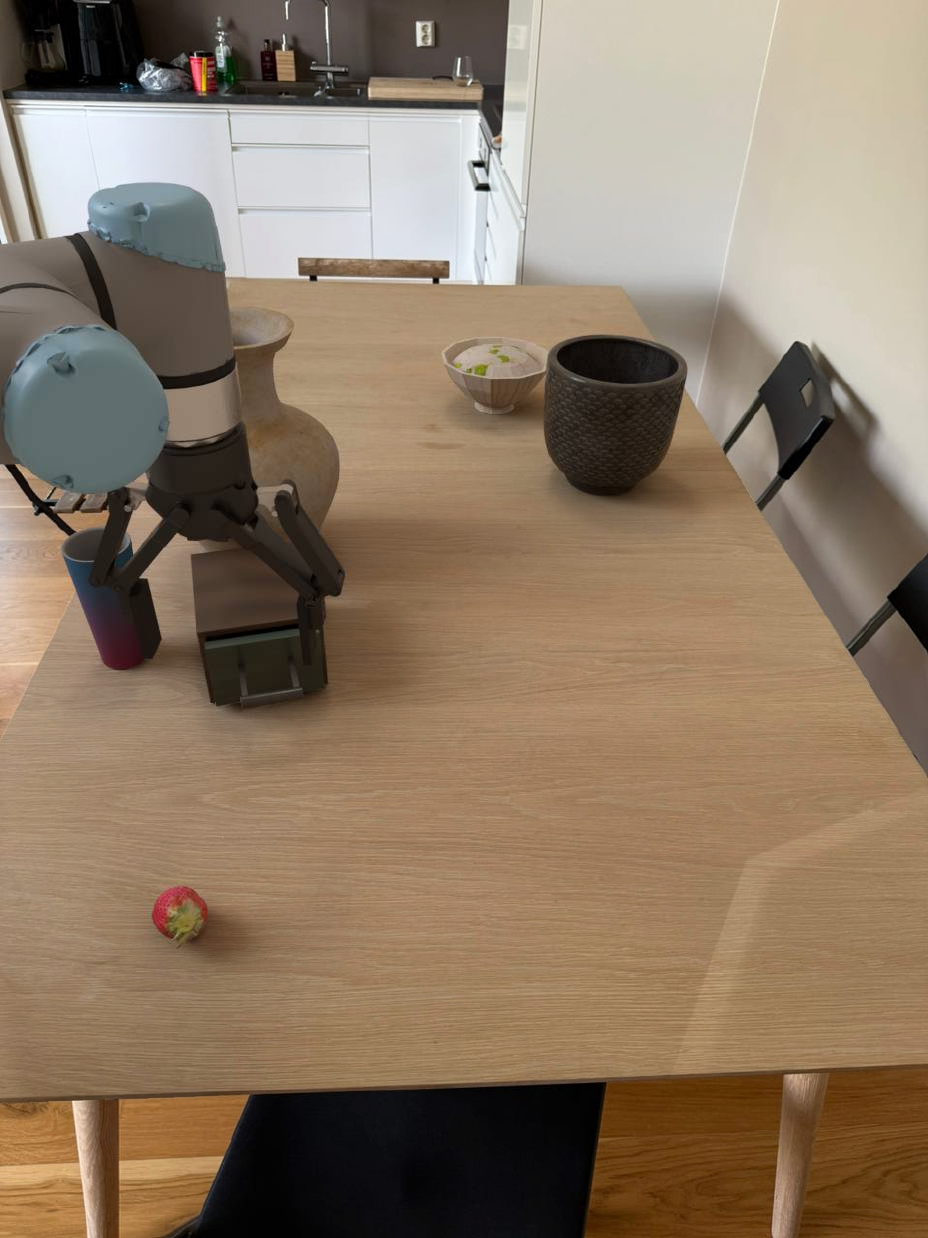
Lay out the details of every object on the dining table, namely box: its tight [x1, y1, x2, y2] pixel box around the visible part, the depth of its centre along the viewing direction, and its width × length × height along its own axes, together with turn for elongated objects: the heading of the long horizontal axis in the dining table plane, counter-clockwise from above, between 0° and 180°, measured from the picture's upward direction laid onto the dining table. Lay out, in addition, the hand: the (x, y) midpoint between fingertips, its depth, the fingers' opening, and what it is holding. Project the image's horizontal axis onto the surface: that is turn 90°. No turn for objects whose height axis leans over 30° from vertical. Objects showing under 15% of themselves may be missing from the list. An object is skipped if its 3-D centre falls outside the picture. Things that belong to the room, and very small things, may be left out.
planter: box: [543, 333, 689, 497], centre depth 130 cm, size 20×20×19 cm
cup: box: [60, 525, 146, 671], centre depth 96 cm, size 7×7×15 cm
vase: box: [197, 306, 341, 553], centre depth 109 cm, size 22×22×30 cm
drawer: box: [204, 624, 326, 711], centre depth 95 cm, size 20×11×8 cm, turn 16°
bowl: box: [440, 336, 550, 415], centre depth 153 cm, size 19×19×10 cm
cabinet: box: [190, 542, 329, 703], centre depth 99 cm, size 15×13×10 cm
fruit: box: [150, 885, 209, 950], centre depth 72 cm, size 4×6×5 cm
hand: (231, 652), depth 77 cm, fingers open, 13 cm apart
